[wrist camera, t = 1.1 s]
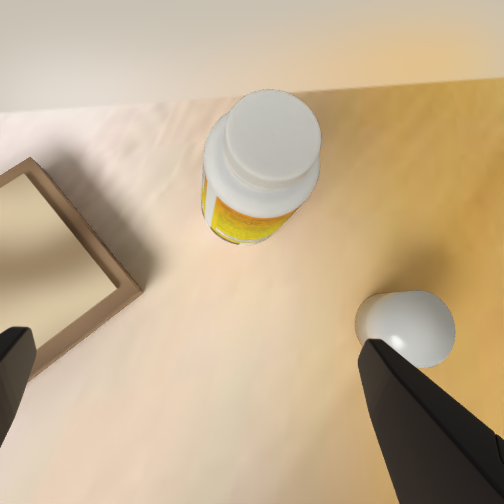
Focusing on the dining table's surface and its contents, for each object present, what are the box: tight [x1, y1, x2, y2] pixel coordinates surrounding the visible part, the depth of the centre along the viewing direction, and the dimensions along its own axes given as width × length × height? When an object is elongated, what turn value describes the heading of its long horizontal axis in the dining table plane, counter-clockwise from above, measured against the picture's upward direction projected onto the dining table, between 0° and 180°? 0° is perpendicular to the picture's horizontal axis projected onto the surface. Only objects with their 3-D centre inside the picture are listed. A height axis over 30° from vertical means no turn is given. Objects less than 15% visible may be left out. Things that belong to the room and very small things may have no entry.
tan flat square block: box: [0, 157, 143, 383], centre depth 20 cm, size 10×10×2 cm
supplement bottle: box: [201, 89, 321, 246], centre depth 19 cm, size 6×6×10 cm
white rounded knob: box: [355, 290, 455, 368], centre depth 22 cm, size 4×4×4 cm
